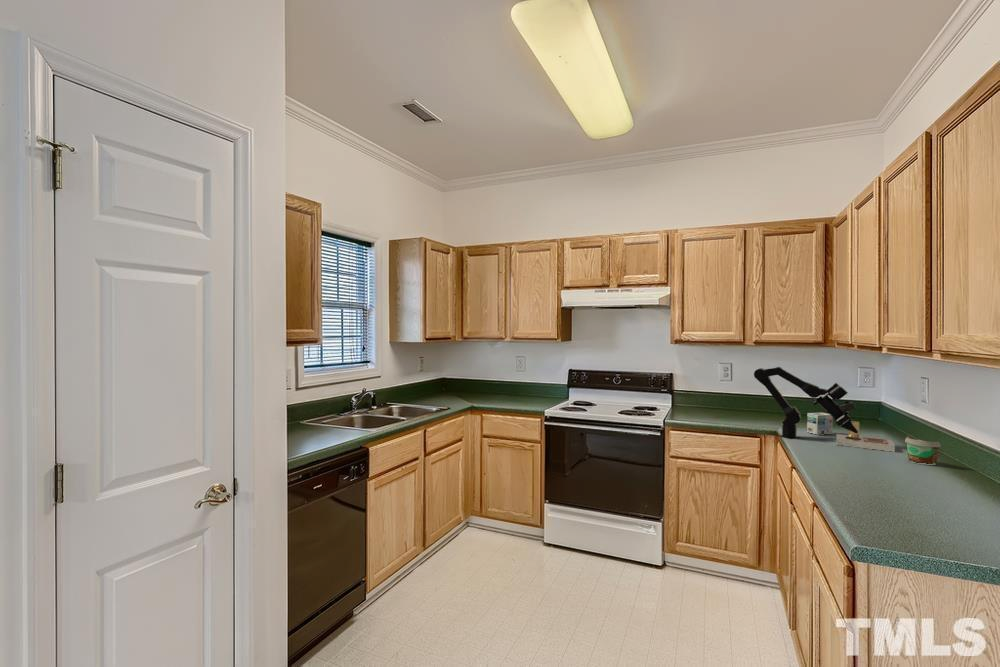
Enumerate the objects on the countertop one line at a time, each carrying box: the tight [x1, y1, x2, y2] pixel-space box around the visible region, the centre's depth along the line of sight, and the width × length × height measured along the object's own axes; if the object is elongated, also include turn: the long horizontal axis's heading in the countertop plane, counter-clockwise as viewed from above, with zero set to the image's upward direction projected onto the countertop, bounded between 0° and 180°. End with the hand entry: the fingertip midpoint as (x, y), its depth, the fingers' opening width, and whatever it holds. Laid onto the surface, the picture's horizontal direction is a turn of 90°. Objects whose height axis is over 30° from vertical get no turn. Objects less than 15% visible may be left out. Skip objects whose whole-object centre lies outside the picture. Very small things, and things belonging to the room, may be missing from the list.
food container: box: [904, 435, 942, 464], centre depth 210 cm, size 12×6×10 cm, turn 21°
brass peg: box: [847, 420, 860, 440], centre depth 242 cm, size 4×4×11 cm
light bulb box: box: [806, 412, 834, 436], centre depth 266 cm, size 11×7×11 cm, turn 105°
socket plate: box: [835, 433, 896, 453], centre depth 240 cm, size 22×14×3 cm, turn 57°
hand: (857, 431), depth 241 cm, fingers open, 8 cm apart
